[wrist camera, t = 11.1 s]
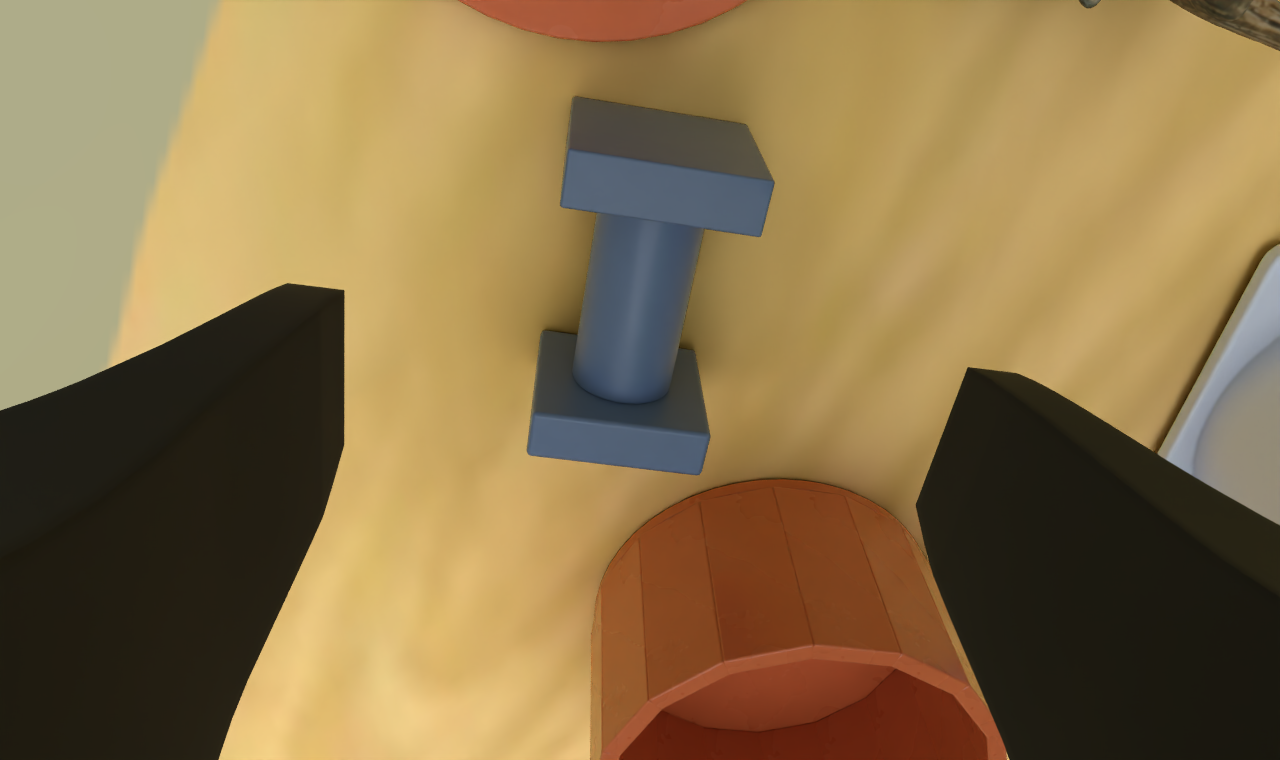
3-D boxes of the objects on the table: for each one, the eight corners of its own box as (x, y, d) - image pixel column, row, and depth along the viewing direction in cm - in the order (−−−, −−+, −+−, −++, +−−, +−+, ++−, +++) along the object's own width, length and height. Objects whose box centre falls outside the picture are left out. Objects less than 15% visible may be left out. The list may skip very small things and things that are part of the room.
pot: (978, 500, 23) (1073, 670, 19) (874, 740, 28) (929, 926, 23) (623, 457, 22) (630, 626, 18) (573, 713, 27) (567, 902, 22)
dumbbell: (572, 95, 18) (567, 149, 15) (747, 123, 18) (775, 181, 15) (535, 368, 21) (525, 457, 18) (687, 387, 21) (701, 477, 18)
